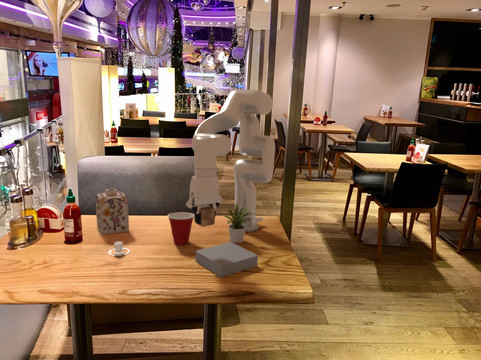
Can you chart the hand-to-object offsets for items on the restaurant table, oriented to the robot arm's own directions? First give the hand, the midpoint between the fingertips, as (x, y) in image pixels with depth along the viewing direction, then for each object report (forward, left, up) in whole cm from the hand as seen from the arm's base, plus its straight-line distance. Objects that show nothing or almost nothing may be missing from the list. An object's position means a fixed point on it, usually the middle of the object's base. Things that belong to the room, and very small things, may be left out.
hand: (204, 221), depth 145 cm
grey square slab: (-5, +6, -15) cm, 17 cm away
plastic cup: (-2, -21, -15) cm, 26 cm away
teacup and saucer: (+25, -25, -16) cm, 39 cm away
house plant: (-21, -9, -15) cm, 28 cm away
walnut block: (0, 0, -1) cm, 1 cm away
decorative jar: (+15, -51, -15) cm, 55 cm away
